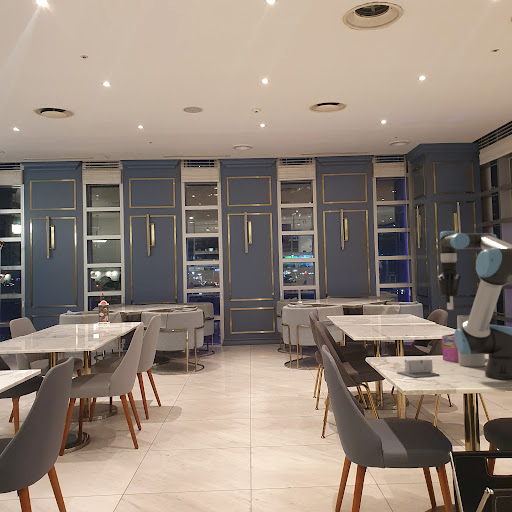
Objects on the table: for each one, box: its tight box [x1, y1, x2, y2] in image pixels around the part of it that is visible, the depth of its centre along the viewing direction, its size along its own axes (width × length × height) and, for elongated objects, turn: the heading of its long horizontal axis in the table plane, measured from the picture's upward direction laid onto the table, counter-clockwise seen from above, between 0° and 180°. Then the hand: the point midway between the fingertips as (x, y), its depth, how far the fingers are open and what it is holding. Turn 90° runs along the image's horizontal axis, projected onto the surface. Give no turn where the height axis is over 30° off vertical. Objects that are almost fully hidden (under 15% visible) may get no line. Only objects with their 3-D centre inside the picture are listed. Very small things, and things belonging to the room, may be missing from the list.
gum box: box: [441, 333, 459, 363], centre depth 288 cm, size 24×8×14 cm, turn 131°
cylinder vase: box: [456, 315, 486, 368], centre depth 266 cm, size 12×12×25 cm
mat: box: [396, 370, 440, 379], centre depth 243 cm, size 13×14×1 cm
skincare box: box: [404, 358, 434, 373], centre depth 246 cm, size 6×4×12 cm
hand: (450, 309), depth 258 cm, fingers closed
